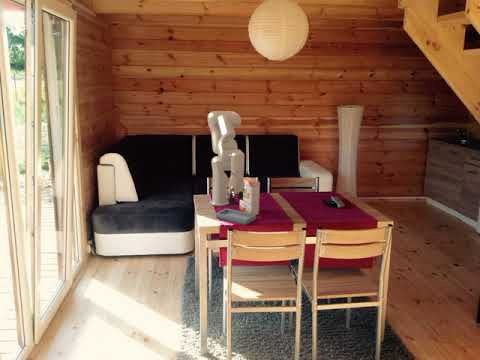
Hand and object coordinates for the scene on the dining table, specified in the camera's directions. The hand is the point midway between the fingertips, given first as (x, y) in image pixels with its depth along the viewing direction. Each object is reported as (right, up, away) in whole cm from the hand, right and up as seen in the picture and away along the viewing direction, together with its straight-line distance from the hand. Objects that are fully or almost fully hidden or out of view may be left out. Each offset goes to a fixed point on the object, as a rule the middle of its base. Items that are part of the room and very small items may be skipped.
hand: (236, 201), depth 267 cm
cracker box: (+8, -8, +15) cm, 19 cm away
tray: (0, -10, +2) cm, 11 cm away
